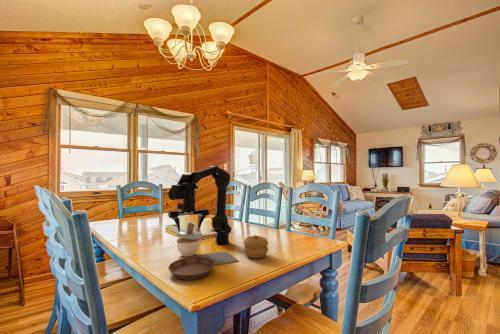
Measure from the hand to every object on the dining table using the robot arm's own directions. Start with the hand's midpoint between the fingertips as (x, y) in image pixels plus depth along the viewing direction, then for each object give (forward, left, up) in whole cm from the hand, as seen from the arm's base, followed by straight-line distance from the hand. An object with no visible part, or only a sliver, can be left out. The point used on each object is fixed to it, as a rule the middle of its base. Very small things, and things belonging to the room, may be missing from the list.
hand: (188, 231), depth 126 cm
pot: (-28, +16, -12) cm, 34 cm away
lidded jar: (0, 0, -12) cm, 12 cm away
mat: (-10, +11, -12) cm, 19 cm away
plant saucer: (+4, +23, -12) cm, 26 cm away
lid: (0, 0, -2) cm, 2 cm away
